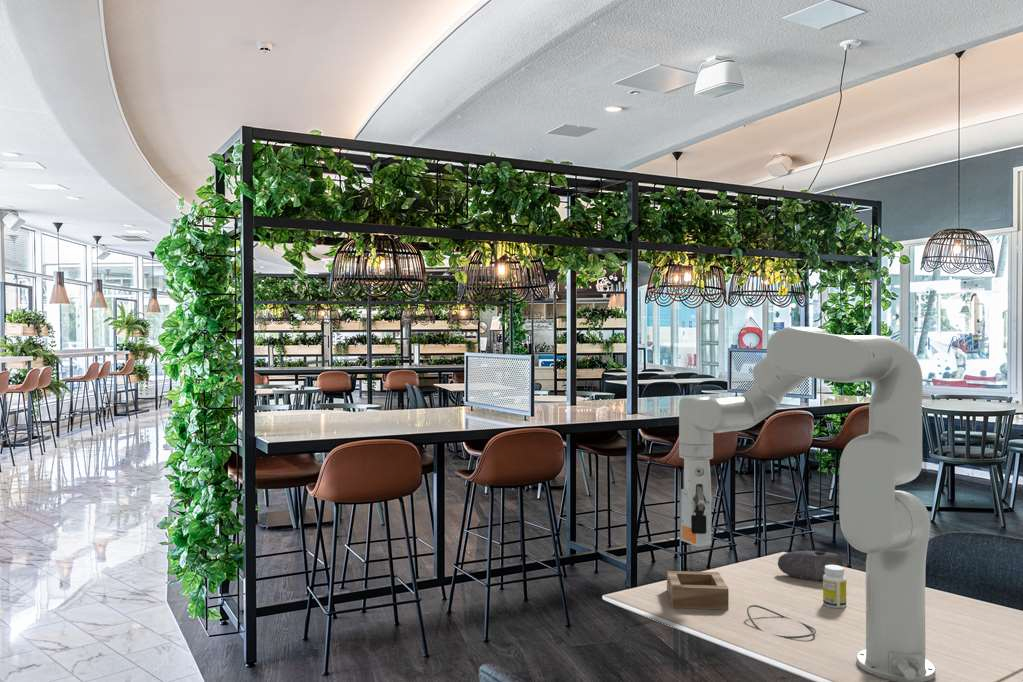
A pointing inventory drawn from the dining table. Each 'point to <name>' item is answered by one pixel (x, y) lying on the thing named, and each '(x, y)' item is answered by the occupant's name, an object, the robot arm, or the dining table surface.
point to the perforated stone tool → (808, 563)
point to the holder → (697, 590)
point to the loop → (781, 616)
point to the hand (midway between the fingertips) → (696, 528)
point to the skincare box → (686, 514)
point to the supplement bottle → (834, 587)
